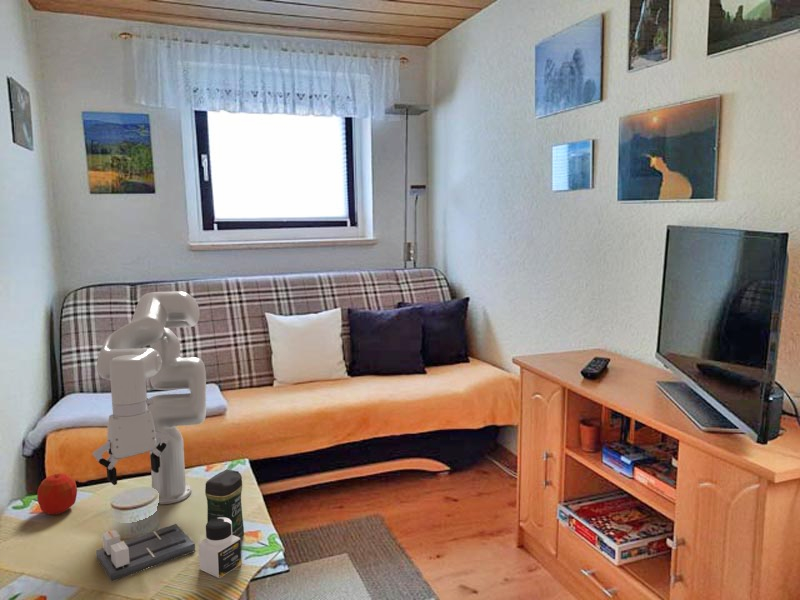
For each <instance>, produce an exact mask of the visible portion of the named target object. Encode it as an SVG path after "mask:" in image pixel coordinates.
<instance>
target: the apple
mask: <svg viewBox="0 0 800 600" xmlns="http://www.w3.org/2000/svg"><path fill="white" fill-rule="evenodd" d="M36 494H37V495H36V496H37V497H36V498H37V502H38V505H39V509H40V510H41V511H42V512H43V513H46V514H47V515H50V516H54V515H55V516H56V515H60V514H62V513H65V512H66V511H68V510H69V509H70V508H71V507H72V506H73V505H75V503H76V501H77V500H76V499H77V495H78V487H77V483H76V481H75V479H73V477H72V476H70V475H68V474H66V473H55V474H51V475H49V476H47V477H46V478H44V479H43V480H42V481H41V483H40V484H39V486H38V489H37V493H36Z"/></svg>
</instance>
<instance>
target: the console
mask: <svg viewBox="0 0 800 600" xmlns="http://www.w3.org/2000/svg"><path fill="white" fill-rule="evenodd" d="M123 541H124V542H125V544H126V545H127V546H128V548H129V562H130V563H129V564H126V565H124V566H121V567H118V568H116V567H115V565H114V564H113V562H112V561H111V555H107V553H106V552H105V550H104V549H103V547H102V548H99V549H96V550H95V554H96V556H95V557H96V559H97V561H98V562H100V563H99V564H100V566H101V568H102V569H103V571H104V572H105V574H106V576H107V577H108V579H109V581H110V582H111V583H112V582H115V581H118V580H120V579H123V578H126V577H129V576H131V574H132V575H134V574H136V572H137V573H140V572H142V571H144V570H143V569H145V570H147V569H146V568H148V567H150V568H152V567H151V566H153V567H156V566H158V565H161V564H163V563H166V562H169V561H171V559H172V560H174V558H175V559H177V558H180V557H183V556H185V554H186V555H188V554H191V553H194V552H195V551H196V543H195V542H194V541H193V540H192V539H191V538H190V537H189V535H187V533H185V532H184V531H183V530H182V528H181V527H180V526H179V525H178V524H177V523H174V524H171V525H167V526H165V527H162V528H159V529H156V530H154V531H153V530H152V531H150V532H148V533H144V534H142V535H138V536H135V537H133V538H129V539H126V540H123ZM193 551H194V552H193ZM155 565H156V566H155ZM148 569H149V568H148ZM141 570H142V571H141ZM139 571H140V572H139Z"/></svg>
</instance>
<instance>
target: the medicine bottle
mask: <svg viewBox="0 0 800 600" xmlns="http://www.w3.org/2000/svg"><path fill="white" fill-rule="evenodd" d="M205 537H206V538H205V539H203V540H201V541H200V542H198V563H199V570H201V571H202V572H205V573H206V574H207V575H211V576H213V577H214V578H217V579H222V578H223V577H224V576H225V575H228V574H229V573H231V572H232V571H233V570H235V569H237V568H238V567H240V566H241V565H242V546H241V544H242V543H241V540H242V539H241V540H240V538H239V537H237V536H234V535H232V521H231V520H230V519H229V518H226V517H218V518H214V519H212V520H210V521H209V522H208V523H206V524H205Z"/></svg>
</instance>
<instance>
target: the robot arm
mask: <svg viewBox="0 0 800 600" xmlns="http://www.w3.org/2000/svg"><path fill="white" fill-rule="evenodd" d="M199 307H200V306H199V304H198V302H197V301H196V299H195V298H194V297H193V296H192V295H190V294H189V293H187V292H185V291H178V290H177V291H153V292H147V293H145V294H143V295H142V296H141V297H140V298H139V300H138V302H137V305H136V307H135V310H134V314H133V316H132V319H131V322H128V323H127V324H124V325H123V326H121V327H120V328H118V329H117V330H115V331H114V332H112V333H110V334H109V335H108V336H107V337H106V339H105V340H104V341H103V344H102V347H101V348H100V350H99V354H98V357H97V362H96V369H97V373H98V375H99V377H100V378H101V379H104V380H106V381H110V391H111V393H110V394H111V395H110V396H111V406H112V407H111V408H112V414H110V415H108V421H107V432H106V442H105V443H104V444H103V445H100V446H99V447H98V448H97V449H96V450H94V451H93V452H92V456H93V458H94V459H95V460H96V461H97V463H99V464H100V465H101V466H103V467H105V468H106V477H107V481H108V482H110V483H111V484H112V485H113V486H116V485H117V484H118V478H117V477H118V476H117V468H116V467H115V466H116V464H118V461H119V460H123V459H127V458H130V457H134V456H138V455H141V454H142V455H143V454H146V453H149V457H150V458H149V460H150V473H151V474H150V475H151V487H152V488H154V489H156V490H157V491H158V493H159V503H160V504H159V505H169V504H174V503H178V502H180V501H183V500H186V498H188V497H189V496H190V495H191V493H192V486H191V485H189V484H187V483H186V469H185V468H186V467H185V451H184V450H185V448H184V447H185V446H184V438H183V435H182V433H181V432H180V430H179V429H178V428H177V427H180V426H195V425H200V424H202V423H204V421H205V420H206V416H207V372H206V365H205V363H204V361H203V360H202V359H201V358H199V357H195V356H193V357H191V356H190V357H181V342H180V340H179V338H178V336H177V335H176V333H174V332H173V330H171V328H173V329H174V328H176V329H177V328H191V327H195V326H196V325H197V324H198V322H199V321H200V316H201V315H200V313H201V312H200V308H199ZM147 346H149V347H150V348H149V347H147ZM147 380H150V384H151V387H152V388H153V389H155V390H160V391H161V390H162V391H168V390H170V391H171V390H172V391H173V390H189V392H188V393H187V392H186V393H168V394H165V393H164V394H156V395H154V396H150V397H149V398H148V395H147V394H148V393H147ZM105 452H107V454H108V455H109V456H108V457H107V458H104V457H103V455H104V454H105ZM152 488H151V489H152Z"/></svg>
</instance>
